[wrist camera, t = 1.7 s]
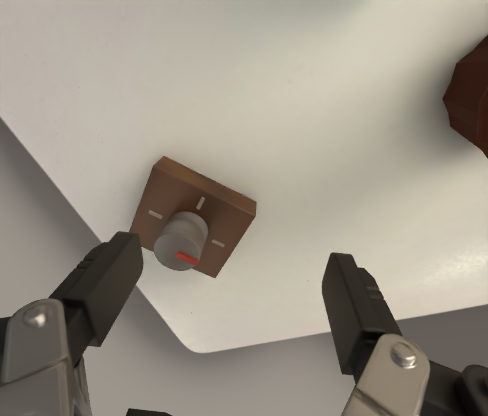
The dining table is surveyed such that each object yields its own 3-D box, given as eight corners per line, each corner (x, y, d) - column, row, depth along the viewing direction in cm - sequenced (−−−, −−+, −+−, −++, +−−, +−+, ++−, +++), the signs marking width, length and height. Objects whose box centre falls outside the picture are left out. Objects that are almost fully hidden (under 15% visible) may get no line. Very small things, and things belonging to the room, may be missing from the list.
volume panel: (137, 225, 32) (125, 241, 29) (163, 155, 28) (152, 166, 25) (219, 261, 34) (215, 279, 31) (256, 202, 29) (255, 216, 27)
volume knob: (161, 235, 29) (146, 261, 25) (175, 204, 27) (160, 227, 23) (198, 251, 30) (188, 279, 26) (214, 222, 28) (206, 248, 24)
